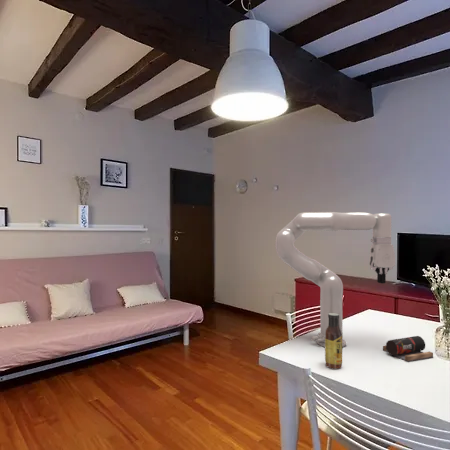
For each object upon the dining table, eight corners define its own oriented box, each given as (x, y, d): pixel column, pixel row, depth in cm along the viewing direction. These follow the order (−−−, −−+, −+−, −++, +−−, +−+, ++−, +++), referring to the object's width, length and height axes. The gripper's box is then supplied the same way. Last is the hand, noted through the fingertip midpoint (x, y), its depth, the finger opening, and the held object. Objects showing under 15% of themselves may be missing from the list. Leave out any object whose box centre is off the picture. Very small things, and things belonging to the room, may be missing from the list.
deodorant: (398, 344, 138) (426, 339, 143) (386, 337, 143) (413, 333, 149) (396, 358, 139) (424, 353, 144) (385, 351, 144) (412, 346, 149)
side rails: (407, 362, 135) (407, 357, 135) (383, 350, 148) (382, 345, 148) (433, 357, 139) (433, 352, 139) (406, 346, 152) (406, 342, 152)
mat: (407, 362, 135) (407, 360, 135) (383, 350, 148) (383, 349, 148) (433, 357, 139) (433, 356, 139) (406, 346, 152) (406, 345, 152)
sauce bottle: (340, 371, 128) (339, 317, 128) (323, 367, 131) (322, 315, 131) (344, 364, 133) (343, 313, 133) (327, 361, 137) (327, 311, 136)
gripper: (372, 242, 147) (372, 285, 147) (402, 241, 151) (402, 283, 151) (361, 241, 154) (361, 282, 154) (390, 240, 158) (389, 280, 158)
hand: (381, 282), depth 153 cm, fingers closed
